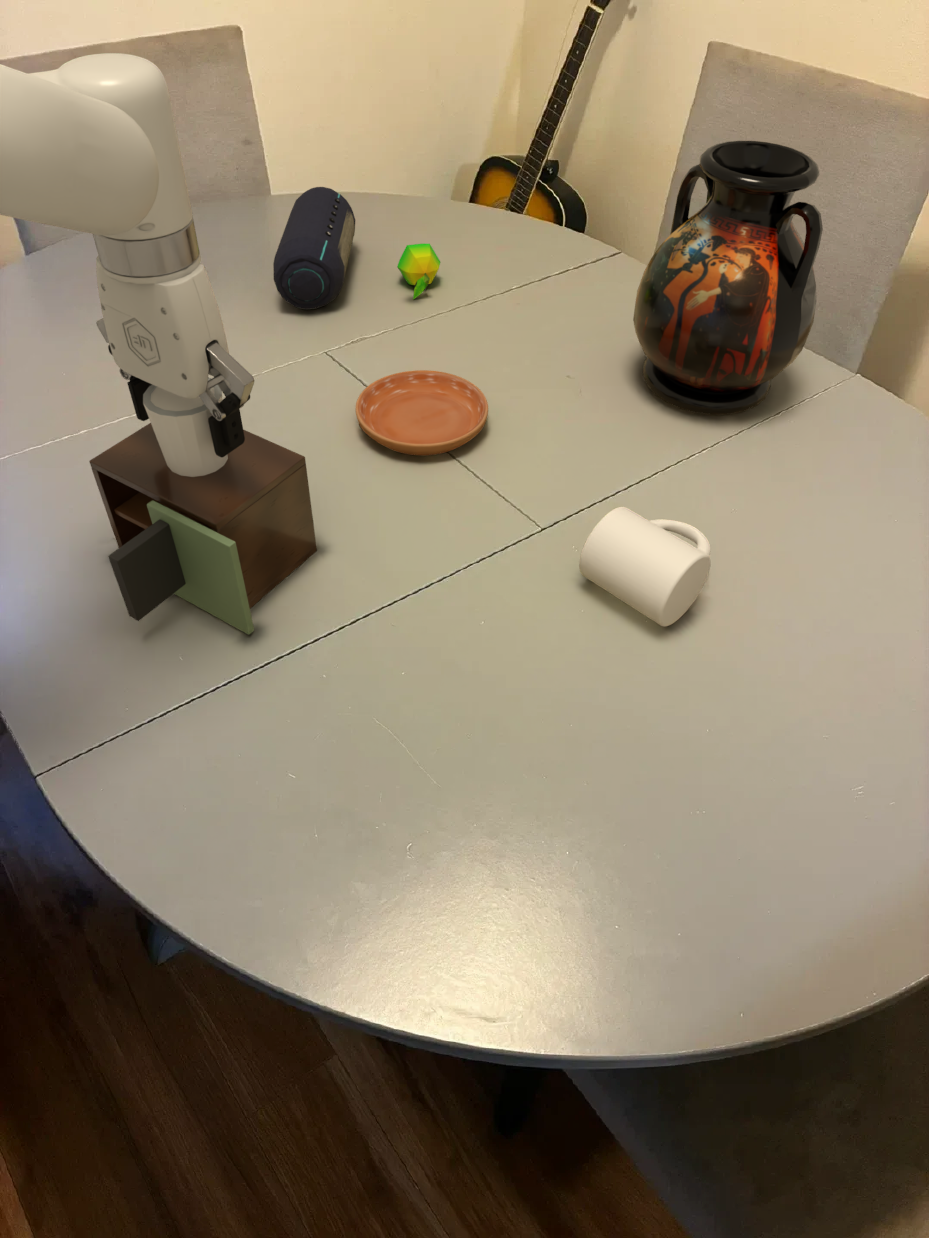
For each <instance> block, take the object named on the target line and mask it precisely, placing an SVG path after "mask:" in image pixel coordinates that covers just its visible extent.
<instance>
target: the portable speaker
mask: <svg viewBox="0 0 929 1238" xmlns="http://www.w3.org/2000/svg"><path fill="white" fill-rule="evenodd" d="M355 231H356V217H355V213H354V211H353V208H352V207H351V205H350V203H349V202H348V200H347V199H346V198H345V197H344V196H343V195H342V194H341V193H339V192H337V191H336V190H334V189H332V188H330V187H326V186H315V187H311V188H309V189H307V190H306V191H304V192H303V193H302V194H301V195H300V196H298V198H296V199H295V201H294V204H293V206H292V208H291V211H290V213H289V215H288V218H287V222H286V225H285V228H284V230H283V233H282V235H281V238H280V242H279V243H278V246H277V250H276V252H275V255H274V259H273V264H272V265H273V281H274V285H275V288H276V290H277V293H278V294H279V295H280V296H281V297H282V298H283V299H284V301H285V302H286V303H288V304H290V305H292V306H293V308H298V309H301V310H315V309H319V308H321V307H324V306H327V305H328V304H330V303H331V302H332V301H334V300H335V299H336V298H337V297H338V296H339V294H340V292H341V290H342V287H343V285H344V282H345V277H346V273H347V268H348V263H349V259H350V254H351V250H352V245H353V241H354V237H355V233H356V232H355Z"/></svg>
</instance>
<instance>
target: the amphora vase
mask: <svg viewBox="0 0 929 1238" xmlns="http://www.w3.org/2000/svg"><path fill="white" fill-rule="evenodd" d="M819 176H820V169H819V165H818V164H817V162H816V161H815V160H814V159H813V158H812V157H811V156H809V155H808V154H806V153H805V152H803V151H800V150H798V149H796V148H793V147H790V146H787V145H783V144H779V143H774V142H768V141H761V140H730V141H725V142H724V141H723V142H720V143H716V144H714V145H712V146H710V147H708V148H706V149H705V150H704V151H703V152H702V153H701V155H700V157H699V163H698V164H696V165H693V166H692V167H691V168H689V170H688V171H687V173H686V174H685V175H684V176H683V178H682V179H681V183H680V186H679V189H678V192H677V196H676V202H675V207H674V212H673V217H672V223H671V228H670V232H669V233H670V234H669V236H667V238H665V240H664V241H663V242H662V243H660V245H659V247H658V248H657V249H656V250H655V252H654V253H653V255H652V256H651V257H650V260H649V262H648V263H647V265H646V267H645V269H644V271H643V273H642V277H641V279H640V282H639V285H638V288H637V290H636V296H635V303H634V311H633V318H632V321H633V326H634V331H635V335H636V337H637V340H638V342H639V345H640V347H641V349H642V352H643V353H644V355H645V356H646V359H644V361H643V367H642V376H643V379H644V381H645V384H646V385H647V387H648V388H649V389H650V390H651V391H652V393H653V394H654V395H655V396H657V397H658V398H659V399H662V400H663V401H664V402H665V403H668V404H669V405H671V406H674V407H676V408H677V409H682V410H684V411H688V412H692V413H694V414H695V413H696V414H701V415H711V416H719V415H720V416H721V415H722V416H723V415H725V416H727V415H734V414H738V413H739V414H740V413H743V412H746V411H748V410H750V409H753V408H755V407H756V406H758V405H760V404H761V403H762V402H763V401H764V400H765V399H766V398H767V395H768V393H769V391H770V389H771V386H772V385H771V380H773V379H774V378H775V377H776V376H778V375H779V374H781V372H783V371H784V370H786V369H787V368H788V367H789V366H790V365H791V364H793V362H795V360H796V359H797V358H798V356H799V355H800V354H801V353H802V351H803V349H804V346H805V345H806V343H807V340H808V338H809V336H810V332H811V329H812V327H813V324H814V323H815V322H814V321H815V314H816V306H817V281H816V275H815V269H814V265H815V261H816V258H817V255H818V252H819V249H820V245H821V240H822V236H823V230H824V229H823V228H824V227H823V221H822V214H821V212H820V210H819V209H818V208H817V206H815V204H812V203H810V202H805V201H798V202H794V203H793V204H791V202H792V200H793V197H794V195H795V192H800V191H803V190H806V189H807V188H810V186H812V185H814V184H815V183H816V181H817V180H818V178H819ZM700 178H701V179H702V180H703V181H704V185H705V187H706V191H707V192H706V199H705V200H706V202H705V204H704V205H703V206H702V207H701V208H700V209H699V210H697V212H695V213H694V214H692V215H691V216H690V215H689V214H690V208H691V201H692V195H693V192H694V189H695V187H696V184H697V181H698V180H699V179H700ZM796 215H797V216H799V217H801V218H802V219H803V222H804V223H805V236H804V237H805V238H804V241H803V239H802V237H801V235H800V234H799V232H798V230H797V228H796V227H795V224H794V223H793V219H794V217H795V216H796ZM689 216H690V217H689Z"/></svg>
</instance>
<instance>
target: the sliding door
mask: <svg viewBox="0 0 929 1238" xmlns="http://www.w3.org/2000/svg"><path fill="white" fill-rule="evenodd" d="M147 508H148V511H149V514H150V518H151V521H152V525H151V526H149V527H148V528H147V529H145V530H144V531H142V532H141V533H140V534H138V535H137V536H135V537H134V538H133V539H131V540H130V541H128V542H127V543H126V544H124V545H123V546H121V547H120V548H119V547H118V548H117V549H116V550H114V551H113V552H112V553H110V554H108V555H107V558H108V560H109V563H110V566H111V568H112V572H113V574H114V578H115V580H116V582H117V585H118V588H119V591H120V593H121V597H122V599H123V602H124V605H125V607H126V611H127V613H128V617H130V618H132V619H133V620H135V621H137V622H140V621H141V620H142V619H144V618H145V617H146V616H147V615H149V614H150V613H151V612H152V611H153V610H155V609H156V608H157V607H159V606H160V605H161V604H162V603H164V602H165V601H166V600H167V599H169V598H170V597H171V596H172V595H176V596H177V597H179V598H181V599H182V600H185V601H187V602H188V603H190V604H192V605H194V606H196V607H198V609H201V610H203V611H205V612H206V613H209V614H210V615H212V616H214V617H216V618H217V619H219V620H221V621H223V622H224V623H226V624H229V625H230V626H232V627H234V628H236V629H238V630H239V631H241V632H243V633H245V634H246V635H249V636H250V635H251V634H252V633H253V632H254V631H255V627H254V626H255V625H254V622H253V618H252V612H251V608H249V603H248V598H247V594H246V589H245V584H244V580H243V575H242V570H241V566H240V561H239V556H238V551H237V547H236V542H235V541H233V540H231V539H229V538H227V537H225V536H223V535H221V534H219V533H217V532H215V531H213V530H211V529H209V528H207V527H205V526H203V525H201V524H199V523H197V522H195V521H193V520H191V519H189V518H187V517H185V516H183V515H181V514H179V513H177V512H175V511H173V510H171V509H169V508H167V507H165V506H163V505H161V504H159V503H157V502H155V501H153V500H152V501H151V502H149V503H148V504H147Z"/></svg>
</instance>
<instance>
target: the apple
mask: <svg viewBox="0 0 929 1238" xmlns="http://www.w3.org/2000/svg"><path fill="white" fill-rule="evenodd" d="M440 266H441V260H440V259H439V257H438V255H437V253H436V251H435V250H434V248H433V247H432V245H431V243H416V244H407V245H406V246H405V248H404V250H403V252H402V254H401V256H400V258H399V261H398V263H397V267H396V268H397V269H398V270H399V272H400V274H401V275H402V277H403V278H404V280H405V282H406V283H407V285H410V286H414V288H413V296H412V299H413V301H414V300H415V299H416V298H417V297H419V296H420V295H421V294H422V293H424V292H425V291H426V290H427V288H428V286H429V285H431V284H432V282H433V281H434V279H435V277H436V275H437V273H438V272H439V270H440Z"/></svg>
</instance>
